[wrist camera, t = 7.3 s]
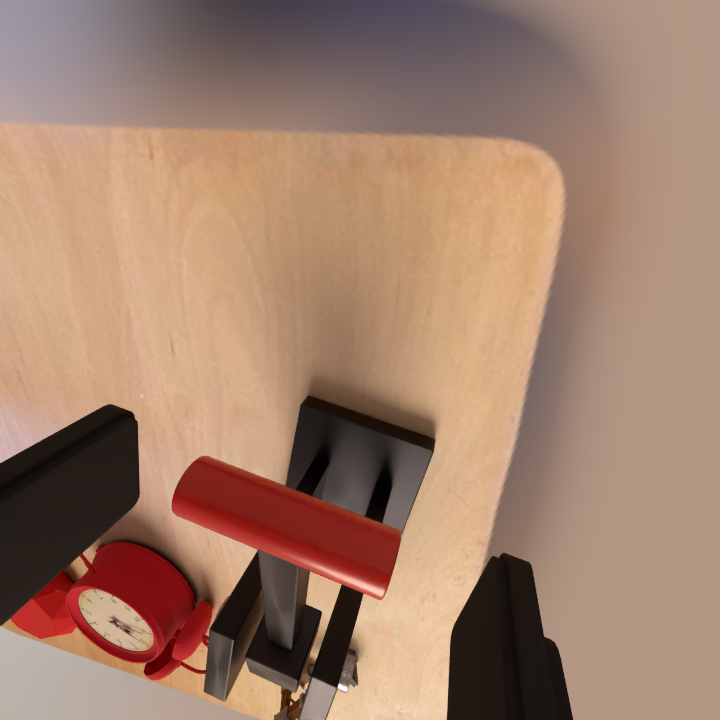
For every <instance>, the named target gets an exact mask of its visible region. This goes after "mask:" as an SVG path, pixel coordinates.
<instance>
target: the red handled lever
mask: <svg viewBox="0 0 720 720" xmlns="http://www.w3.org/2000/svg"><path fill="white" fill-rule="evenodd" d="M172 511H173V513H174V514H175V515H176V516H179V517H181V518H183V519H186V520H188V521H191V522H193V523H196V524H198V525H200V526H203V527H205V528H208V529H210V530H212V531H215V532H217V533H220V534H222V535H224V536H227V537H229V538H232V539H234V540H236V541H239V542H241V543H244V544H246V545H248V546H251V547H253V548H256V549H258V555H259V565H260V575H261V585H262V594H263V604H264V615H263V617H262V619H261V622H260V624H259V626H258V628H257V630H256V633H255V635H254V637H253V639H252V642H251V644H250V646H249V648H248V650H247V653H246V655H245V658H246V661H247V665H248V668H249V671H250V672H251V673H253V674H256V675H258V676H260V677H262V678H264V679H266V680H268V681H271V682H273V683H275V684H277V685H279V686H281V687H283V688H286V689H288V690H290V691H292V692H294V693H296V692H297V689H298V687H299V684H300V681H301V678H302V675H303V672H304V669H305V666H306V664H307V661H308V658H309V655H310V652H311V649H312V646H313V643H314V640H315V638H316V635H317V632H318V628H319V624H320V619H321V615H322V612H321V611H320V610H318V609H315V608H313V607H311V606H308V605H306V597H307V589H308V582H309V574H310V571H311V572H313V573H316V574H318V575H321V576H323V577H325V578H328V579H330V580H333V581H335V582H337V583H340V584H342V585H345V586H347V587H349V588H352V589H354V590H357V591H359V592H361V593H364V594H366V595H369V596H371V597H373V598H376V599H378V600H382V599H383V598H384V596H385V594H386V591H387V588H388V586H389V583H390V580H391V576H392V573H393V570H394V566H395V563H396V559H397V555H398V551H399V546H400V542H401V531H400V530H399V529H396V528H393V527H391V526H388V525H386V524H383V523H380V522H378V521H375V520H373V519H370V518H367V517H365V516H362V515H360V514H357V513H354V512H352V511H349V510H347V509H344V508H341V507H339V506H336V505H334V504H331V503H328V502H326V501H323V500H321V499H318V498H315V497H313V496H310V495H308V494H305V493H302V492H300V491H297V490H295V489H292V488H289V487H287V486H284V485H282V484H279V483H276V482H274V481H271V480H269V479H266V478H263V477H261V476H258V475H256V474H253V473H250V472H248V471H245V470H243V469H240V468H237V467H235V466H232V465H230V464H227V463H225V462H222V461H219V460H217V459H214V458H212V457H209V456H202V457H199V458H198V459H196V460H195V461H194V462H193V463H192V464H191V465H190V466H189V467H188V468H187V470H186V471H185V473H184V474H183V476H182V477H181V479H180V481H179V483H178V485H177V487H176V489H175V492H174V495H173V499H172Z"/></svg>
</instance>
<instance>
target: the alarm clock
mask: <svg viewBox="0 0 720 720" xmlns="http://www.w3.org/2000/svg"><path fill="white" fill-rule="evenodd" d="M100 546H101V545H100ZM100 546H99V547H98V548H97V550H96V552H97V553H96V555H95V557H94V560H93V563H92V564H90V562H89V561H88V560H87V559H86V558H85V556H84V555H83V554H81V555H80V557H81V558H82V560H83V561H84V563H85V565H86V566H87V568H88V569H89V570H88V571H87V573H86V574H84V575H83V576H82V577H81V578H80V579H79V580H78V581H77V582H76V583H75V584H74V585H73V586H72V587H71V589H70V591H66V590H63V589H61V587H60V586H57V587H56V588H55V591H56V592H59V591H60V592H62V593H64V594H66V595H67V596H66V607H67V610H68V613H69V615H70V617H71V619H72V621H73V622H74V624H75V625H76V626H77V628H78V629H79V630H80V631H81V632H82V633H83V634H84V635H85V636H86V637H87V638H88V639H89V640H90V641H91V642H92V643H94V644H95V645H96V646H98V647H99V648H101V649H102V650H104V651H105V652H107V653H109V654H110V655H112V656H114V657H117V658H119V659H122V660H124V661H128V662H132V663H146V665H145V669H144V673H145V675H146V676H147V677H148V678H149V679H151V680H160V679H162V678H164V677H166V676H167V675H169V674H170V673H172V672H173V671H174V670H175V669H176V668H178V667H179V666H180V665H182V666H183V667H185V668H186V669H188V670H190V671H192V672H195V673H198V674H206V670H198V669H195V668H193V667H191V666H189V665H187V664H185V663H184V662H182V660H185V659H187V658H188V657H189V656H191V655H192V654H193V653H194V651H195V650H196V649H197V647H198V646H199V644H200V643H201V641H202V643H203V644H204V645H205V646H207V647H208V642H207V641H209V637H208V636H207V635H205V634H206V632H207V630H208V627H209V625H210V622H211V618H212V607H211V605H210V604H209V603H207V602H206V601H204V600H202V601H201V602H200V603H199V604H198V605H197V607H196V603H195V598H194V595H193V593H192V590H191V588H190V587H189V585H188V583H187V582H186V580H185V579H184V578H183V576H182V575H181V574H180V573H179V572H178V571H177V570H176V569H175V568H174V567H173V566H172V565H171V564H170V563H169V562H168V561H166V560H165V559H164V558H162V557H161V556H159V555H157V554H156V553H154V552H152V551H151V550H149V549H146V548H144V547H142V546H139V545H136V544H132V543H127V542H113V543H110V544H107V545H105V546H104V547H103V548H100Z"/></svg>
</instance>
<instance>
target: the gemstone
mask: <svg viewBox="0 0 720 720" xmlns="http://www.w3.org/2000/svg"><path fill="white" fill-rule="evenodd" d="M73 585H74V584H73V582H72V581H71V580H70V579H69V578H68V577H67V576H66V574H65V573H64V572H63V571H62V572H61V573H60V574H59V575H57V576H56V577H55V578H54V579H53V580H52V581H51V582H50V583H49V584H47V585H46V586H45V587H44V588H43V589H42V590H41V591H40V592H39V593H37V594H36V595H35V596H34V597H33V598H32V599H31V600H30V601H29V602H27V603H26V604H25V605H24V606H23V607H22V608H21V609H20V610H19V611H17V612H16V613H15V614H14V615H13V616H12V617H11V618H10V619H11V620H12V621H13V622H14V623H15V625H16V626H17V627H18V628H20V629H22V630H24V631H26V632H28V633H30V634H32V635H34V636H36V637H38V638H40V639H43V638H48V637H53V636H58V635H64V634H69V633H72V632H73V631H74V630H75V628H76V627H77V626H76V625H75V624H74V622H73V621H72V619H71V617H70V615H69V613H68V610H67V607H66V596H67V595H66V594H64V593H62V592H60V591H59V592H56V591H55V588H56V587H57V586H60V587H61V589H63V590H66V591H70V589H71V587H72V586H73Z"/></svg>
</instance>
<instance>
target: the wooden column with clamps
mask: <svg viewBox="0 0 720 720" xmlns="http://www.w3.org/2000/svg"><path fill="white" fill-rule="evenodd" d="M313 669H314V666H311V667H310V666H309V665H308V664H306V666H305V669H304V672H303V675H302V678H301V681H300V684H299V685H300V686H301V687H302V688H303V689H304V686H305V684H306V683H308V682H309V681H310V678H311V675H312V672H313ZM350 684H351V685H352V686H353V687H355V686H356V685H358V677H357V665H356V664H355V668H354V672H353V675H352V679H351V682H350ZM306 691H307V690H305V694H306ZM281 694H282V698H281V708H280V712H279V713H278V714H276V715H274V720H296V719H297V718H298V717H299V713H300V710H301V707H302V704H303V700H304V697H305V694H304V693H303V692H302V694H300V698H299V699H298V700H297V701H296V702H295V701H294V700H293V699H292V698H291V694H292V691H290V690H288V689H286V688H283V687H281ZM290 701H291V702H292V703H293V704H292V705H291V706H290Z"/></svg>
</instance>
